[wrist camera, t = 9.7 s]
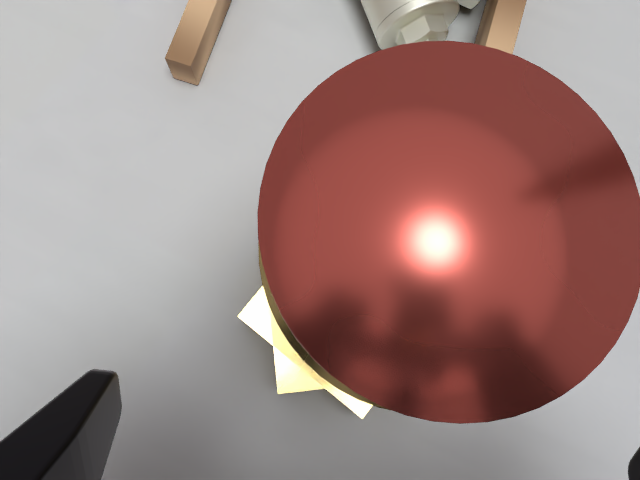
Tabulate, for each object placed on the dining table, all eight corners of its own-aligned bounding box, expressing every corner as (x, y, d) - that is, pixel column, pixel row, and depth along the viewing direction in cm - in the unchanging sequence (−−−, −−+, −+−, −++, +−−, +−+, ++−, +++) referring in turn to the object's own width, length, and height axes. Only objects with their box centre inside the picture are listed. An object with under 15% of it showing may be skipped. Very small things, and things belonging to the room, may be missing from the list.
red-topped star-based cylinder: (456, 399, 20) (854, 525, 6) (251, 424, 19) (138, 631, 5) (425, 202, 21) (685, -83, 7) (234, 221, 20) (108, -47, 7)
